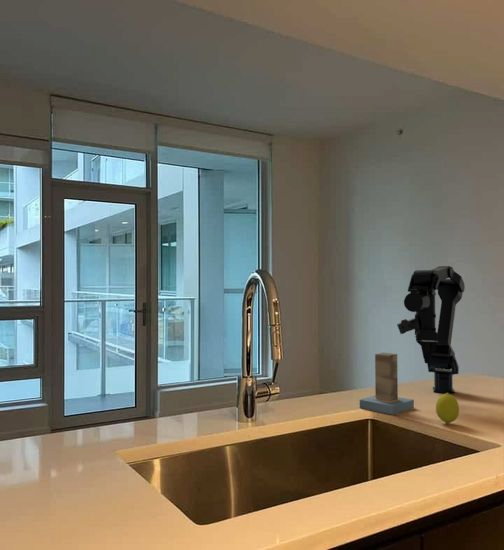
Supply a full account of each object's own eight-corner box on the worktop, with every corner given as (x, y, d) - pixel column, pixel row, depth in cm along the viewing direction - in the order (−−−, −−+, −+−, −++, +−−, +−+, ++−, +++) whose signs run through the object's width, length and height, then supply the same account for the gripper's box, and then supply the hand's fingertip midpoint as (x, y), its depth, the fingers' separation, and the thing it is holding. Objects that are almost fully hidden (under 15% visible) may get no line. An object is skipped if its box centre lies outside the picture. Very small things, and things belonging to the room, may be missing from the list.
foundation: (381, 401, 157) (381, 393, 157) (413, 408, 149) (413, 399, 149) (359, 407, 150) (359, 398, 150) (392, 414, 142) (392, 405, 142)
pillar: (384, 396, 153) (383, 352, 153) (397, 399, 149) (397, 354, 150) (375, 398, 150) (375, 354, 150) (389, 401, 146) (388, 355, 147)
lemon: (462, 427, 129) (462, 395, 130) (440, 427, 130) (439, 395, 130) (454, 421, 135) (454, 390, 135) (433, 421, 135) (432, 390, 135)
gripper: (398, 308, 171) (399, 356, 171) (398, 311, 153) (398, 364, 153) (434, 309, 168) (434, 357, 167) (438, 312, 150) (438, 366, 150)
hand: (426, 361), depth 159 cm, fingers open, 9 cm apart
